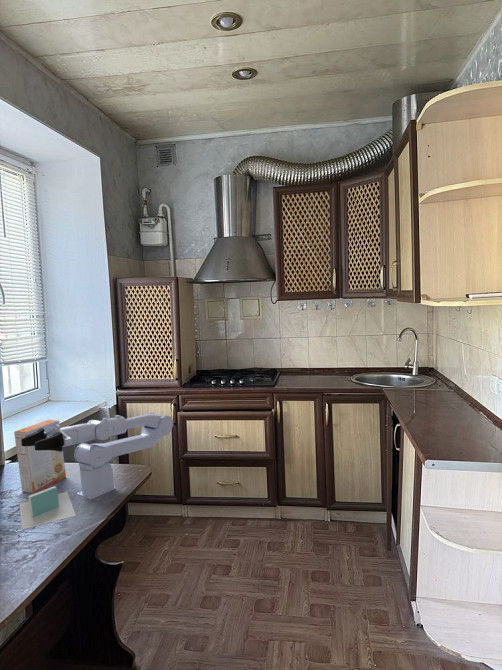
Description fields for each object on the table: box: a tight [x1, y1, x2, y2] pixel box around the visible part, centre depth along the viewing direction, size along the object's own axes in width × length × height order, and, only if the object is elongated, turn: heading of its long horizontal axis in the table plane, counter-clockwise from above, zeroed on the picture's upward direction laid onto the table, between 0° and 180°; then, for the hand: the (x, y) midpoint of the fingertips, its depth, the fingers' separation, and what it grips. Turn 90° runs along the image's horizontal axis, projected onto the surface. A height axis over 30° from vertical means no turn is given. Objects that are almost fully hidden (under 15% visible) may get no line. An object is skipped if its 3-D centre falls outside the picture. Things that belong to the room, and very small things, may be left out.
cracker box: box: [13, 419, 67, 494], centre depth 162 cm, size 14×6×21 cm, turn 154°
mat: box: [19, 491, 77, 530], centre depth 143 cm, size 20×14×1 cm
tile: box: [27, 485, 59, 517], centre depth 141 cm, size 8×2×6 cm, turn 141°
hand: (28, 444), depth 136 cm, fingers open, 7 cm apart
